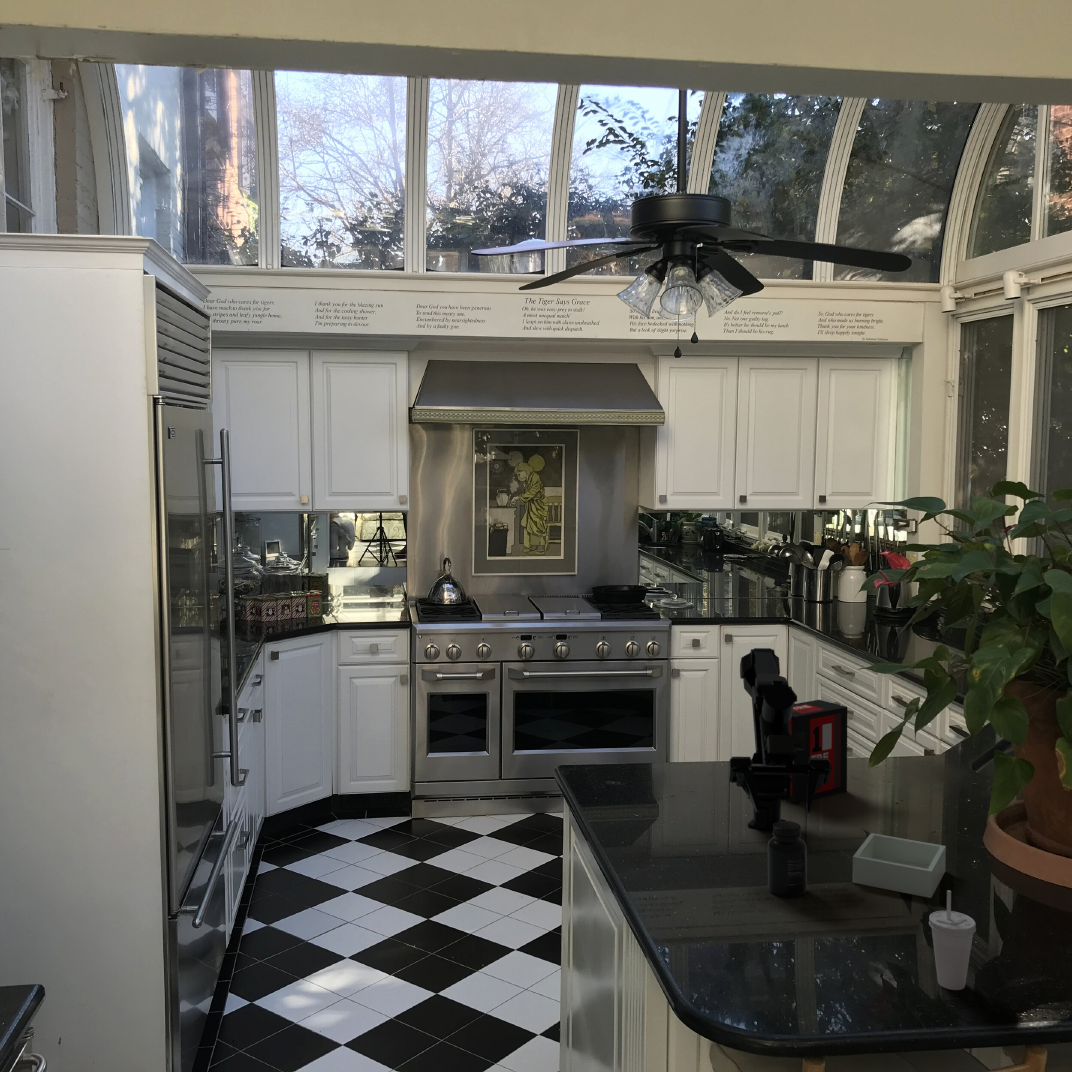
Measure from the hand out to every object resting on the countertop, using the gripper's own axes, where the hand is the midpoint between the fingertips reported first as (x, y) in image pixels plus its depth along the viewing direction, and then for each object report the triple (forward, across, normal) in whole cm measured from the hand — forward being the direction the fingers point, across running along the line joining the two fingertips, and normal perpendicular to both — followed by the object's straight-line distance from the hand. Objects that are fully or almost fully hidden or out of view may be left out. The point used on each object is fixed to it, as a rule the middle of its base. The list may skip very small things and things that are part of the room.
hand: (783, 812), depth 187 cm
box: (+8, +21, +10) cm, 25 cm away
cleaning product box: (-26, +11, +44) cm, 52 cm away
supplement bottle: (+13, 0, +5) cm, 14 cm away
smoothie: (+35, +20, -17) cm, 44 cm away
